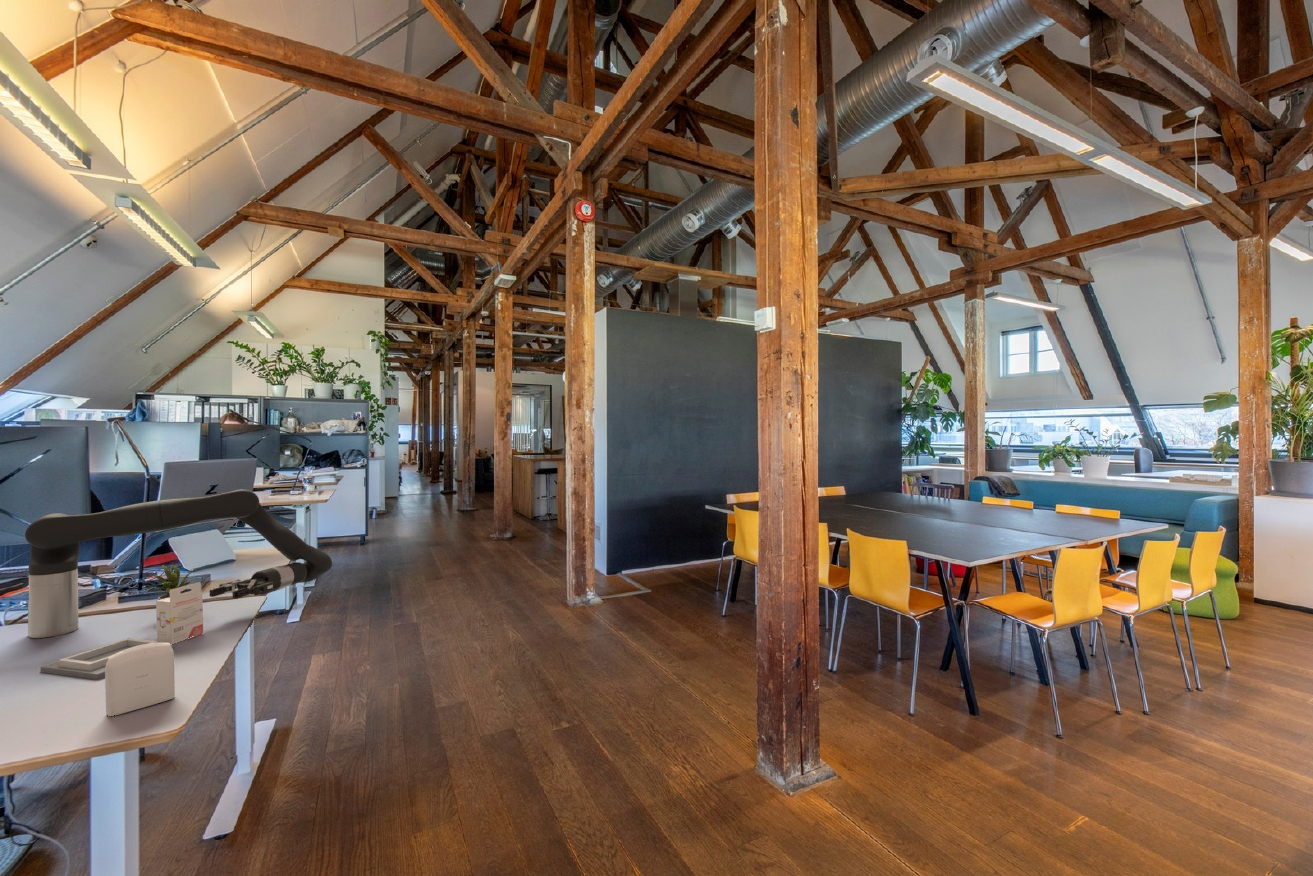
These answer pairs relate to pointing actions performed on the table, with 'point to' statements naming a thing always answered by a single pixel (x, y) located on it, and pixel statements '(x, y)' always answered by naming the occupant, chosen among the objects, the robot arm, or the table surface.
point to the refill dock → (91, 660)
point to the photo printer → (139, 677)
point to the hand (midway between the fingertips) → (222, 594)
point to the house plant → (170, 581)
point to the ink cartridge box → (180, 614)
